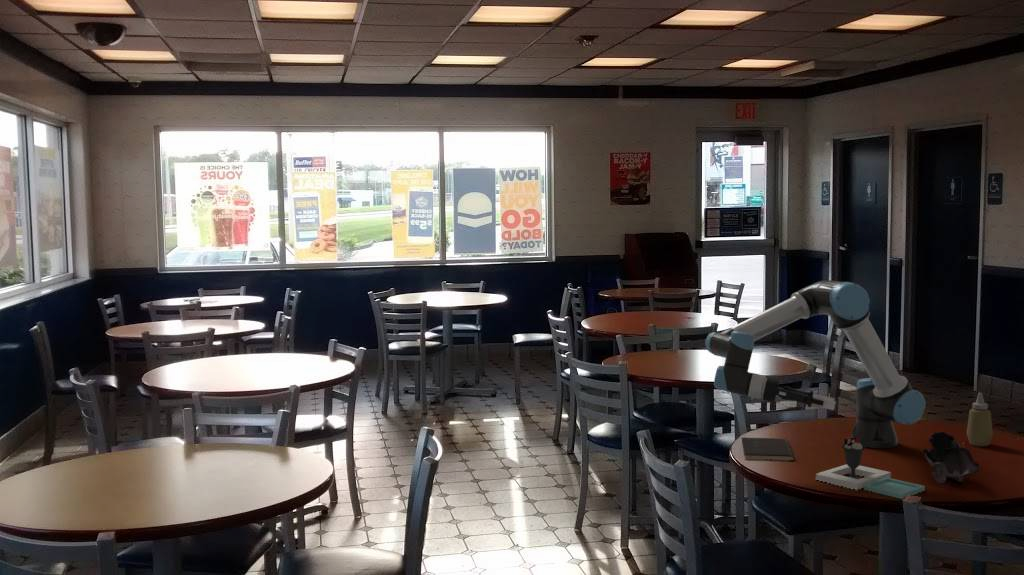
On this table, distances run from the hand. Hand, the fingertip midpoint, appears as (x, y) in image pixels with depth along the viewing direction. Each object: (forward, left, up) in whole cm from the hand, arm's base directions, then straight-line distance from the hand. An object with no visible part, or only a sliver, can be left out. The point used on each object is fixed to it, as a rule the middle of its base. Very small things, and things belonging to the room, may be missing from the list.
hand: (834, 404), depth 290 cm
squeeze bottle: (-69, +11, -23) cm, 73 cm away
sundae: (-1, +6, -23) cm, 23 cm away
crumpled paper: (-23, +24, -23) cm, 40 cm away
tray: (0, +20, -22) cm, 30 cm away
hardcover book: (-9, -32, -23) cm, 41 cm away
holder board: (-1, +6, -22) cm, 23 cm away
